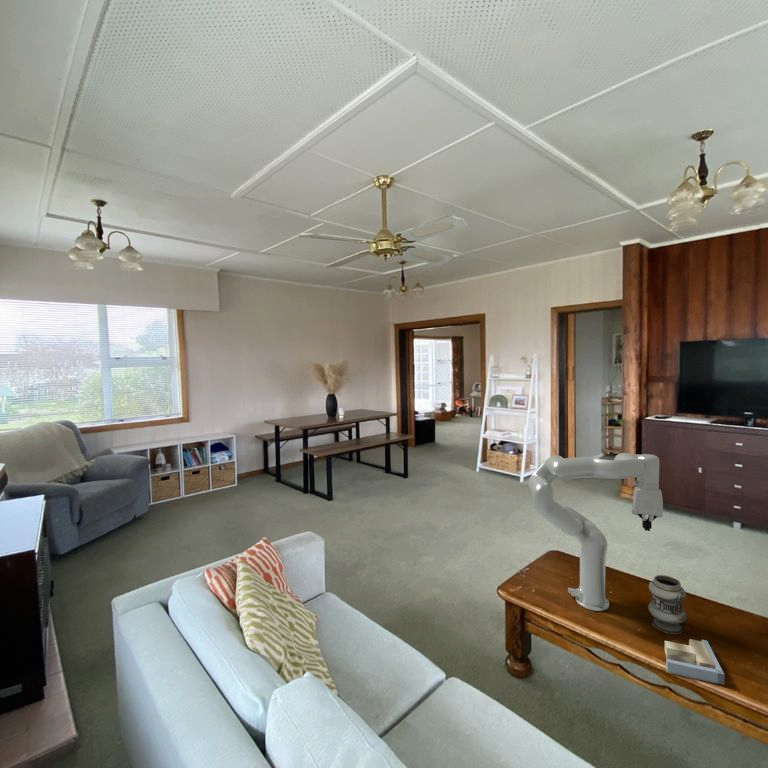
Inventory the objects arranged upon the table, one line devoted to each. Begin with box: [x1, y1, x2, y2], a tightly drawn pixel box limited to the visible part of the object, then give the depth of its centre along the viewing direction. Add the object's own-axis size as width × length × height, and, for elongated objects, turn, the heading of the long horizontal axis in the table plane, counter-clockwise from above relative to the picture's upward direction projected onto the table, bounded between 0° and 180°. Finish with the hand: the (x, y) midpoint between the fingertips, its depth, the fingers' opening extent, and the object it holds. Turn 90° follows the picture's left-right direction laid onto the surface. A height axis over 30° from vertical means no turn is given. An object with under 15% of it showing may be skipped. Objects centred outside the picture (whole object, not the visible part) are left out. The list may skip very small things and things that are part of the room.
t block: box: [664, 638, 715, 669], centre depth 143 cm, size 12×12×4 cm
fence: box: [665, 639, 725, 686], centre depth 142 cm, size 15×17×4 cm
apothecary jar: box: [647, 574, 687, 635], centre depth 160 cm, size 12×12×18 cm
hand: (646, 529), depth 172 cm, fingers closed
